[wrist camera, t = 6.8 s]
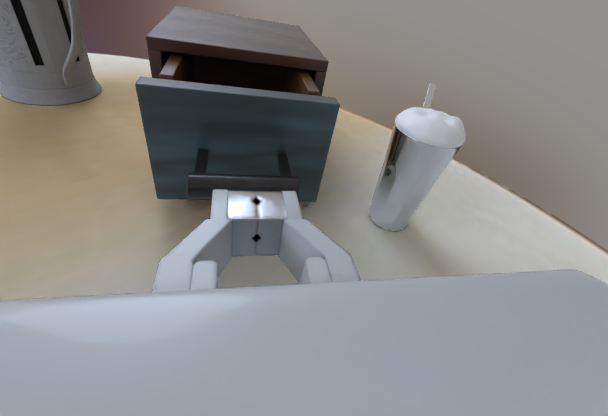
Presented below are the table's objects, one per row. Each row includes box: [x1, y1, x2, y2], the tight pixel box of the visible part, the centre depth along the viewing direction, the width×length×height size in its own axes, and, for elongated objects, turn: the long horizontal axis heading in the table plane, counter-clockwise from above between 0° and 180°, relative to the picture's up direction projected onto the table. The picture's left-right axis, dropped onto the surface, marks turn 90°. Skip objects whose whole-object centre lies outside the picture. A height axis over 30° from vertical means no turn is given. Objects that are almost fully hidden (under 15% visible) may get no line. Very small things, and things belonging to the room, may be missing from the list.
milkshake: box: [369, 84, 466, 231], centre depth 22 cm, size 4×5×10 cm
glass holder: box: [0, 0, 101, 105], centre depth 26 cm, size 9×14×15 cm, turn 56°
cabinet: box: [146, 6, 328, 96], centre depth 29 cm, size 14×13×10 cm
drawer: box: [135, 52, 340, 202], centre depth 22 cm, size 17×11×8 cm
